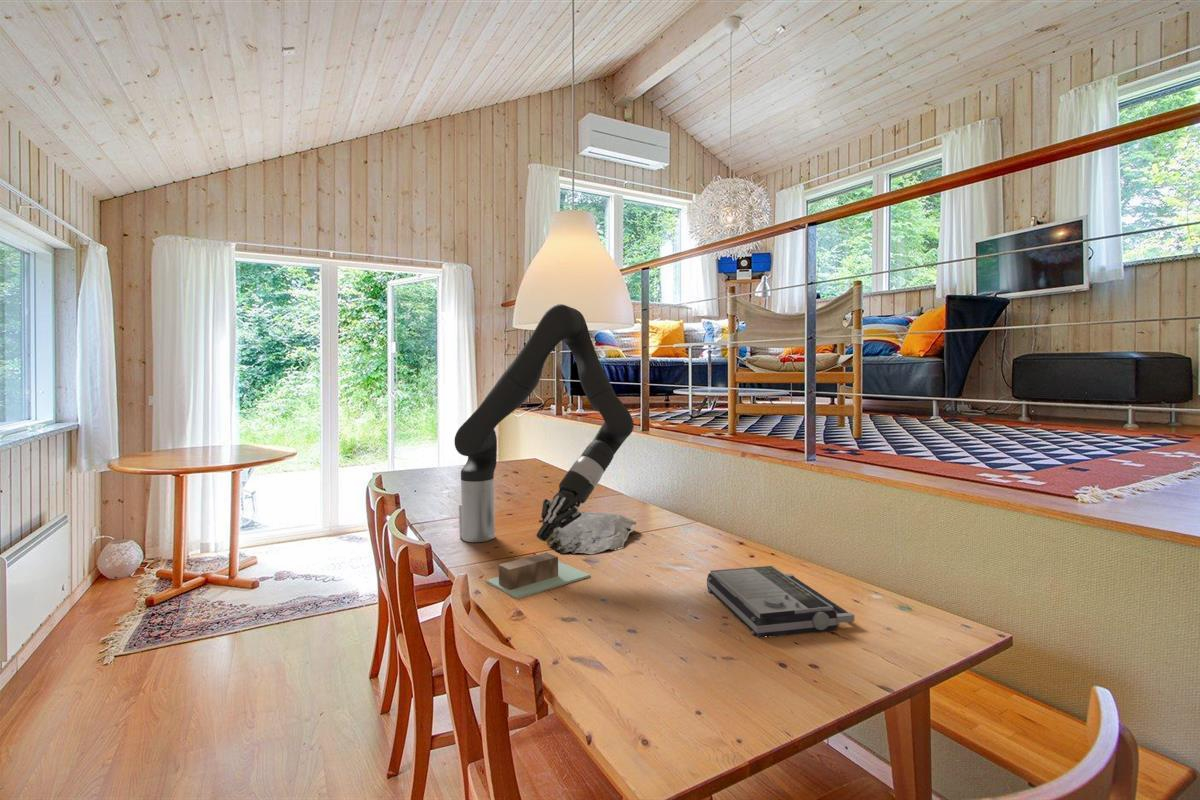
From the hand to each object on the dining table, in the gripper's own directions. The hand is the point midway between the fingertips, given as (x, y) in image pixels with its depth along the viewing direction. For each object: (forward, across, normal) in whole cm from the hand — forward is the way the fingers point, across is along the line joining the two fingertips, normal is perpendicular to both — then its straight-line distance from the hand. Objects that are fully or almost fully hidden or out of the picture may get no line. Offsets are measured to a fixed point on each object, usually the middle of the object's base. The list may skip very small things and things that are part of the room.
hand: (540, 538), depth 135 cm
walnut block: (+2, 0, +7) cm, 7 cm away
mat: (+7, 0, +6) cm, 9 cm away
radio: (-11, +45, +25) cm, 53 cm away
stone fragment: (-14, -18, +28) cm, 36 cm away
